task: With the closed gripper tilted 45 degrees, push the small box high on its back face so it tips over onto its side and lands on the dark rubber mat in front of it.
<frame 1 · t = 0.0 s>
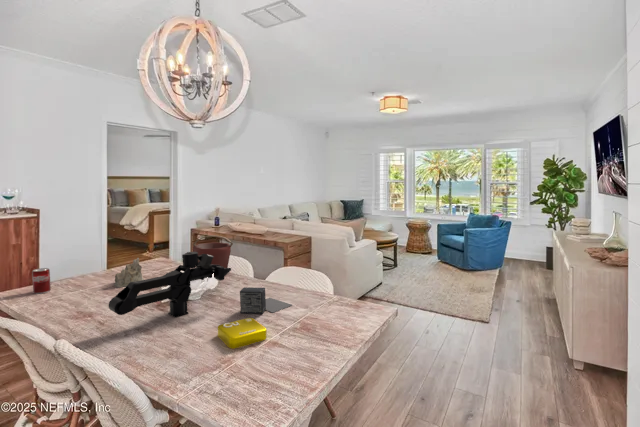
hand: (225, 267, 176), 17 cm above the table, tool horizontal, fingers open, 9 cm apart
soda can: (42, 292, 186), on the table
jagged grey rock: (128, 283, 204), on the table
bucket: (212, 274, 224), on the table
small box: (253, 311, 162), on the table, touching dark rubber mat
dark rubber mat: (271, 305, 171), on the table
element tile: (242, 338, 136), on the table
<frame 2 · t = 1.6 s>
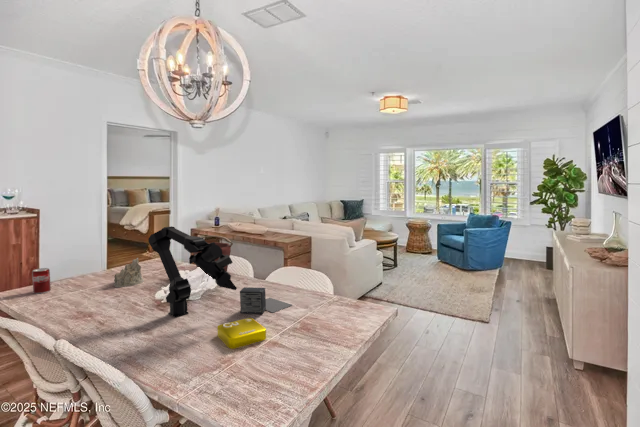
hand: (233, 286, 154), 14 cm above the table, tool tilted 45°, fingers open, 9 cm apart
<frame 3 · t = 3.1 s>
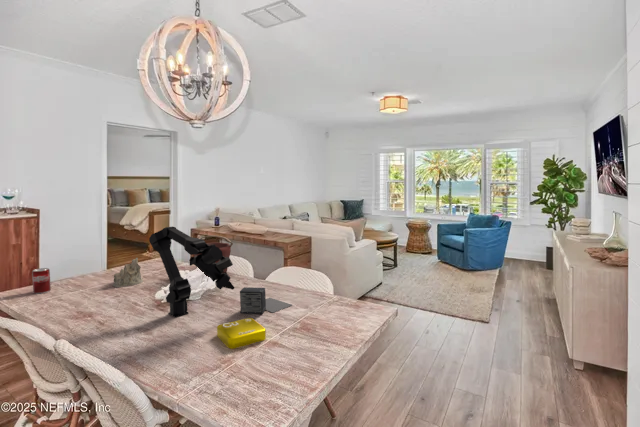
hand: (233, 288, 154), 13 cm above the table, tool tilted 45°, fingers closed
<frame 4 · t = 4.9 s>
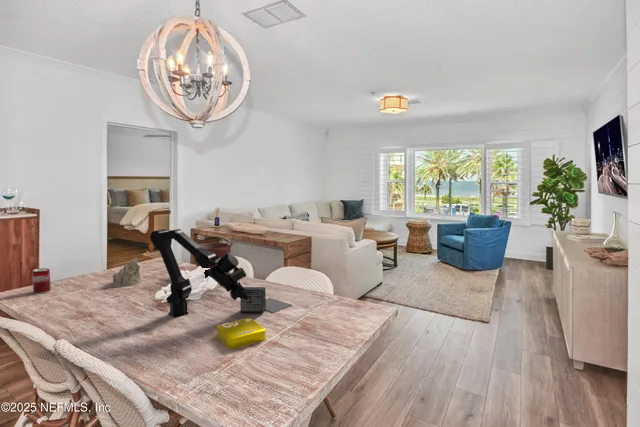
hand: (247, 298, 159), 7 cm above the table, tool tilted 45°, fingers closed
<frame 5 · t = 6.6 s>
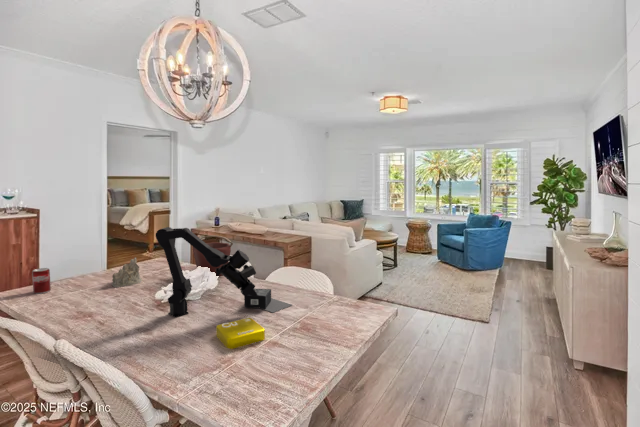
hand: (256, 295, 163), 7 cm above the table, tool tilted 45°, fingers closed
small box: (254, 302, 165), point 3 cm above the table, touching dark rubber mat
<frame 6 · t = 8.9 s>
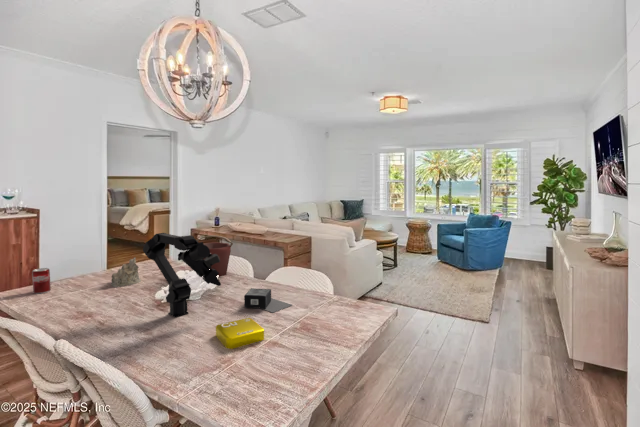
hand: (220, 285, 158), 13 cm above the table, tool tilted 45°, fingers closed
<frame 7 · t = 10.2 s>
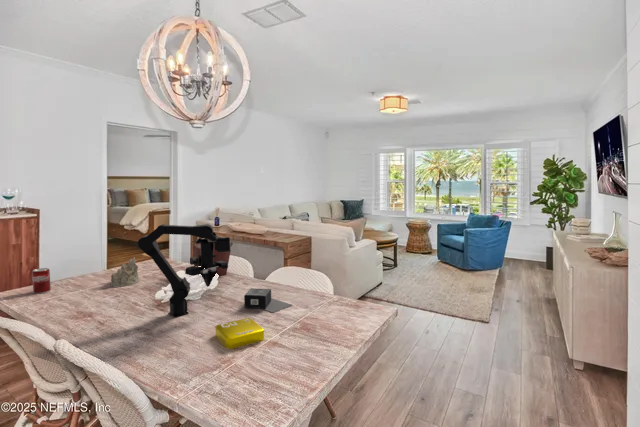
hand: (207, 286, 160), 12 cm above the table, tool pointing down, fingers closed
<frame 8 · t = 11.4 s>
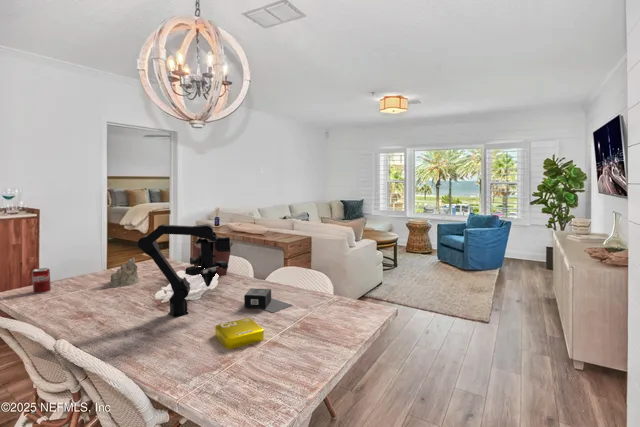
hand: (207, 286, 160), 12 cm above the table, tool pointing down, fingers closed
at the end: small box tilted 89°; small box inside the target area (3.7 cm from its centre), point 3.4 cm above the table; small box touching dark rubber mat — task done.
